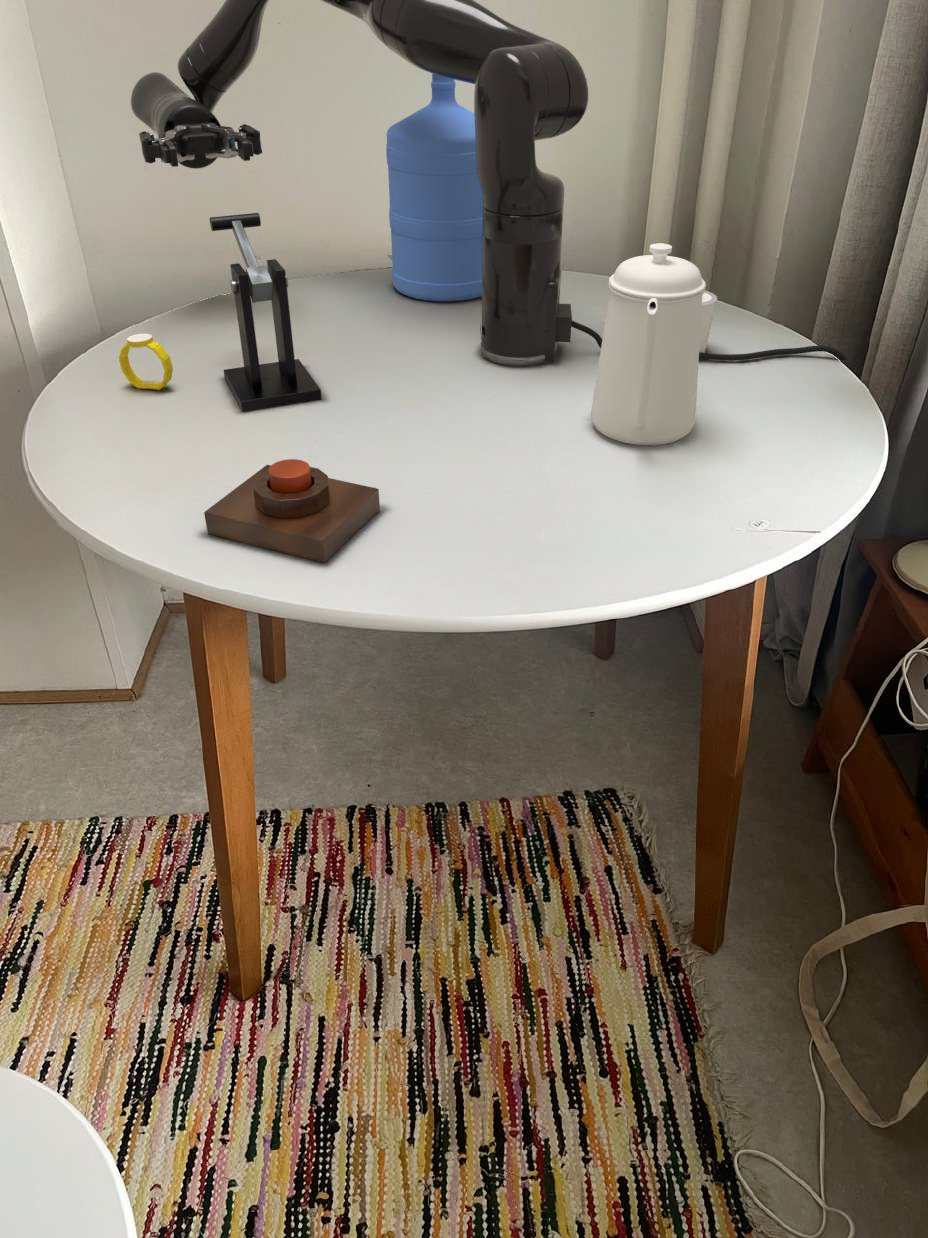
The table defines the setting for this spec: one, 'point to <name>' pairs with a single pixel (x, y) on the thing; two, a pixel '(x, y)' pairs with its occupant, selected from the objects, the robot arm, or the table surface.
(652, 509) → the table surface
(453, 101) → the water jug
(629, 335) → the coffeepot
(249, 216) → the lever
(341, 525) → the button block
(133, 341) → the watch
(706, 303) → the white cup
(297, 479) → the button
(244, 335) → the bracket
